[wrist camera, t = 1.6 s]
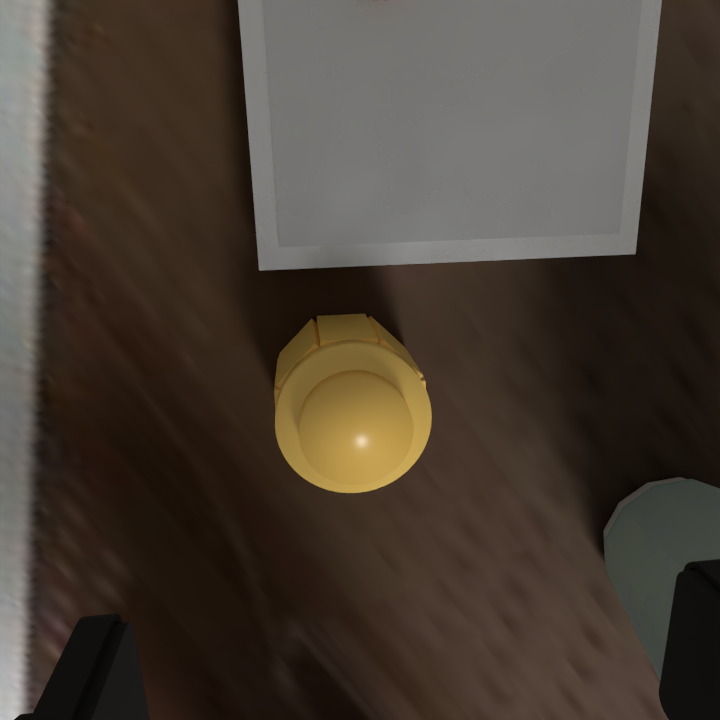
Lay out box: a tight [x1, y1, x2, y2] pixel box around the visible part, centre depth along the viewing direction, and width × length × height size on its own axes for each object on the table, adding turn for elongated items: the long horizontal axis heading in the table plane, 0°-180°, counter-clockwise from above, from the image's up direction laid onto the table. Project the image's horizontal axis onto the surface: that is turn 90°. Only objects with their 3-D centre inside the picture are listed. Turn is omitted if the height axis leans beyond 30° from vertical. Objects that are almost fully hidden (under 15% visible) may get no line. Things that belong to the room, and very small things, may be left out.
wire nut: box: [274, 314, 432, 493], centre depth 22 cm, size 5×5×6 cm
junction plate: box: [238, 0, 662, 271], centre depth 19 cm, size 16×14×6 cm
